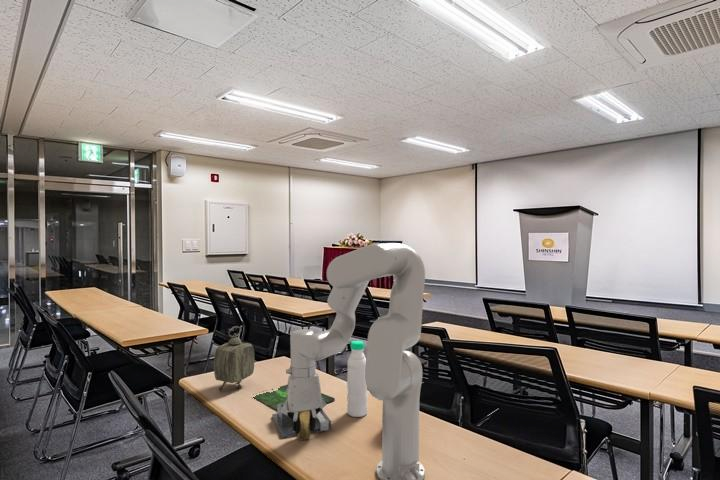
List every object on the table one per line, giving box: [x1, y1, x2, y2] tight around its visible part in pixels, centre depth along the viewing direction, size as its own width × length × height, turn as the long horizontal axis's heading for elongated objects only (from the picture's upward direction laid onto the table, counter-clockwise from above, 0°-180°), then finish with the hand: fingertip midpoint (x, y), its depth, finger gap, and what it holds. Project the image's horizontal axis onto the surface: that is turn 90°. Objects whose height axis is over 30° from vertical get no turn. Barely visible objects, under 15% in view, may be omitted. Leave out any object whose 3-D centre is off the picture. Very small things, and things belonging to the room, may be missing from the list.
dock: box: [271, 404, 333, 439], centre depth 137 cm, size 16×16×5 cm
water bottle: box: [346, 340, 368, 418], centre depth 144 cm, size 7×7×25 cm
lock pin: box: [315, 412, 330, 432], centre depth 133 cm, size 9×3×3 cm, turn 22°
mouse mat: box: [252, 384, 336, 412], centre depth 158 cm, size 27×22×1 cm
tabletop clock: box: [213, 325, 255, 392], centre depth 168 cm, size 14×9×25 cm, turn 154°
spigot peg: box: [297, 410, 312, 440], centre depth 126 cm, size 4×4×10 cm
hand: (304, 430), depth 126 cm, fingers closed on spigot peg, 4 cm apart
